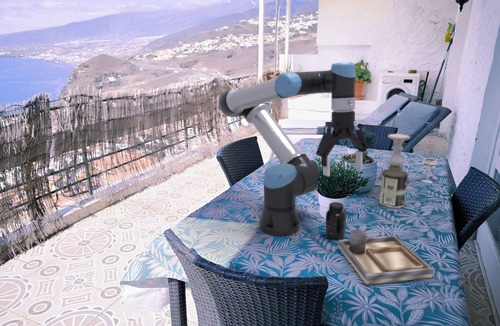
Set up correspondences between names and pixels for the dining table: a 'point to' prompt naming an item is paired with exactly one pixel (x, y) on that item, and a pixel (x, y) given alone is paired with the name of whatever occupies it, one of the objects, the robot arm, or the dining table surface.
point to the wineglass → (429, 166)
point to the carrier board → (383, 258)
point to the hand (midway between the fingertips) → (343, 172)
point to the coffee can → (393, 188)
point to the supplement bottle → (335, 221)
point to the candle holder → (397, 152)
